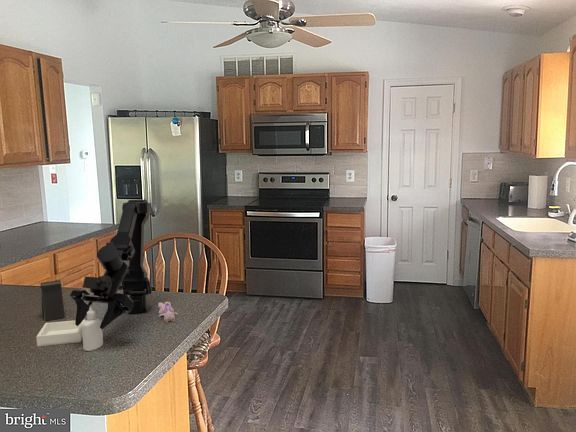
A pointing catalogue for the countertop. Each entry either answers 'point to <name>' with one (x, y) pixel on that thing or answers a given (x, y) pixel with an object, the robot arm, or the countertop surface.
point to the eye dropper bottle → (92, 331)
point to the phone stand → (52, 300)
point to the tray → (60, 333)
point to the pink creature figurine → (167, 312)
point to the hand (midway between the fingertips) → (88, 326)
